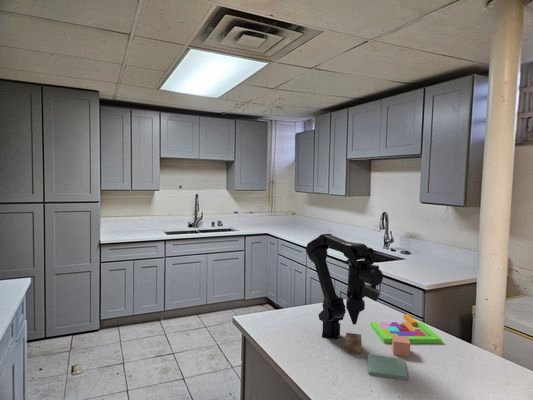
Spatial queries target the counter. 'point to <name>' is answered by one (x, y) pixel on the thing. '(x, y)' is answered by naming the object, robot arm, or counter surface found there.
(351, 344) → the walnut brick
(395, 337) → the salmon pink brick
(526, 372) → the counter surface
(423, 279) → the counter surface
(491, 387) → the counter surface
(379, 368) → the base plate
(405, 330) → the green block puzzle board
